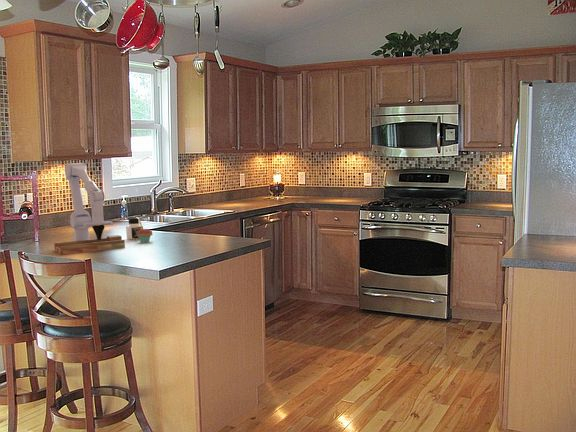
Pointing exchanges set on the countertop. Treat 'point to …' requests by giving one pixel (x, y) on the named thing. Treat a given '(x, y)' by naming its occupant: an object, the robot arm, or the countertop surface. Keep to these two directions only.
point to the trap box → (87, 246)
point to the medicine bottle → (133, 228)
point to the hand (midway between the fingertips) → (99, 239)
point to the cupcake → (144, 234)
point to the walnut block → (114, 238)
